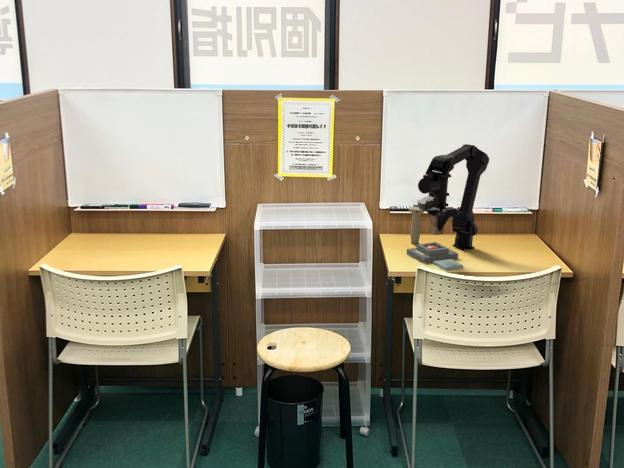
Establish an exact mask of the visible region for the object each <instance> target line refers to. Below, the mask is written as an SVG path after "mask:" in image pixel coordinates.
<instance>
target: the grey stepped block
mask: <svg viewBox="0 0 624 468" xmlns="http://www.w3.org/2000/svg"><path fill="white" fill-rule="evenodd" d="M429 245H433V246H437V247H438V249H429V248H427V246H429ZM406 255H408V256H409V257H412V258H414V259H415V260H417V261H419V262H421V263H423V264H425V263H426V264H428V263H433V261H439V260H446V259H452V260H455V259H459V252H457V251H454V250H452V249H450V248H449V247H447V246H445V245H443V244H441V243H439V242H436V241H432V242H425V243H424V242H423V243H418V244H416V247H414V248H406Z"/></svg>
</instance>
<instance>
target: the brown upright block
mask: <svg viewBox="0 0 624 468" xmlns="http://www.w3.org/2000/svg"><path fill="white" fill-rule="evenodd" d="M444 228H445V226H444V227H443V228H442V230H441V231H438V217H437V216H436V215H435V214H433V215H430V218H429V223H428V233H430V234H432V235H434V236H437V235H444Z"/></svg>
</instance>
